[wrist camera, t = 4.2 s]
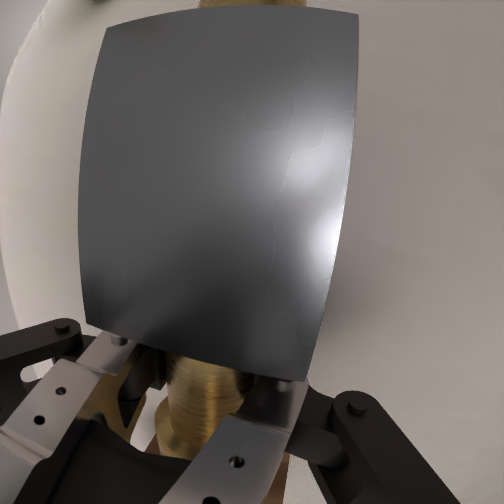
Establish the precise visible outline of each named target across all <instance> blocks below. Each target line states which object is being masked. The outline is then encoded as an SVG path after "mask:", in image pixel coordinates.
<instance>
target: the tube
mask: <svg viewBox="0 0 504 504" xmlns="http://www.w3.org/2000/svg"><path fill="white" fill-rule="evenodd" d="M232 5H286V6H300V7H306V0H200V2H199V6H198V8H206V7H217V6H232ZM165 361H166V377H167V391H168V396H167V397H166V398H165V399H164V400H163V401H162V402H161V403H160V404H159V406H158V408H157V410H156V413H155V428H156V433H157V438H158V444H159V449H160V453H161V455H163V456H170V457H177V458H184V459H187V460H191V461H193V460H194V458H195V457H196V456H197V454H198V453H199V452H200V450H201V449H202V448H203V446H204V445H205V444H206V442H207V441H208V440H209V438H210V437H211V435H212V434H213V433H214V431H215V430H216V428H217V427H218V426H219V424H220V423H221V421H222V420H223V419H224V417H225V416H226V415H227V414H228V413H232V414H236V413H237V411H238V410H239V408H240V406H241V405H242V403H243V402H244V400H245V399H246V397H247V396H248V394H249V392H250V391H251V389H252V388H253V384H254V378H255V374H254V373H249V372H244V371H239V370H235V369H230V368H226V367H222V366H218V365H214V364H210V363H206V362H202V361H198V360H194V359H190V358H187V357H183V356H180V355H176V354H173V353H169V352H166V351H165Z"/></svg>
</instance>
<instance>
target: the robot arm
mask: <svg viewBox="0 0 504 504" xmlns="http://www.w3.org/2000/svg"><path fill="white" fill-rule="evenodd" d="M50 358H52V361H53V364H54V366H53V367H52V368H51V369H50V370H49V371H48V372H47V373H46V374H45V376H44V377H43V378H40V379H37V380H35V381H32V382H28V383H27V382H24V381H22V380H21V377H20V373H21V371H22V369H23V368H25V367H27V366H30V365H33V364H35V363H38V362H41V361H44V360H47V359H50ZM166 382H167V377H166V361H165V351H163V350H160V349H156V348H153V347H150V346H147V345H144V344H141V343H138V342H135V341H132V340H129V339H126V338H124V337H121V336H118V335H115V334H112V333H110V332H107V331H105V330H103V331H102V332H101V333H100V334H99V335H98V336H97V337H95V336H89V335H82V333H81V327H80V324H79V323H78V322H77V321H76V320H73V319H69V318H60V319H56V320H52V321H49V322H45V323H42V324H39V325H35V326H32V327H28V328H25V329H22V330H18V331H15V332H12V333H8V334H5V335H1V336H0V504H263V502H264V499H265V497H266V495H267V493H268V491H269V489H270V486H271V484H272V482H273V480H274V477H275V475H276V473H277V471H278V468H279V466H280V464H281V461H282V459H283V456H284V454H285V452H287V453H290V454H292V455H295V456H297V457H300V458H302V459H305V460H307V461H308V465H309V467H310V469H311V471H312V473H313V476H314V478H315V480H316V482H317V484H318V486H319V488H320V490H321V492H322V494H323V496H324V498H325V500H326V502H327V504H460V502H459V501H458V500H457V499H456V497H455V496H454V495H453V494H452V492H451V491H450V490H449V489H448V487H447V486H446V485H445V484H444V483H443V481H442V480H441V479H440V478H439V476H438V475H437V474H436V473H435V471H434V470H433V469H432V468H431V466H430V465H429V464H428V463H427V461H426V460H425V459H424V458H423V457H422V455H421V454H420V453H419V452H418V450H417V449H416V448H415V447H414V445H413V444H412V443H411V442H410V441H409V439H408V438H407V437H406V436H405V434H404V433H403V432H402V431H401V429H400V428H399V427H398V426H397V425H396V423H395V422H394V421H393V420H392V418H391V417H390V416H389V415H388V413H387V412H386V411H385V410H384V409H383V407H382V406H381V405H380V404H379V402H378V401H377V400H376V399H375V398H374V397H372V396H371V395H369V394H367V393H364V392H360V391H345V392H342V393H340V394H339V395H337V396H336V397H335V399H334V398H331V397H328V396H325V395H323V394H320V393H319V392H317V391H315V390H314V389H313V388H312V387H311V386H310V385H309V381H308V379H307V377H306V379H305V382H299V381H293V380H286V379H281V378H275V377H269V376H264V375H259V374H255V378H254V384H253V388H252V389H251V391H250V392H249V394H248V396H247V397H246V399H245V400H244V402H243V403H242V405H241V406H240V408H239V410H238V411H237V413H236V414H232V413H228V414H227V415H226V416H225V417H224V419H223V420H222V421H221V423H220V424H219V426H218V427H217V428H216V430H215V431H214V433H213V434H212V435H211V437H210V438H209V440H208V441H207V442H206V444H205V445H204V446H203V448H202V449H201V450H200V452H199V453H198V454H197V456H196V457H195V458H194V460H193V461H191V460H187V459H184V458H177V457H170V456H163V455H157V454H151V453H146V452H142V451H139V450H138V449H136V448H135V447H133V446H132V445H131V444H130V439H131V435H132V432H133V430H134V428H135V425H136V423H137V421H138V418H139V416H140V413H141V411H142V409H143V407H144V404H145V402H146V398H147V397H146V391H147V389H148V388H149V387H151V388H154V389H157V390H161V389H162V387H163V386H164V385H165V383H166Z"/></svg>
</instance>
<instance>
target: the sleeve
mask: <svg viewBox="0 0 504 504" xmlns="http://www.w3.org/2000/svg"><path fill="white" fill-rule="evenodd" d="M358 46H359V20H358V15H357V14H352V13H347V12H341V11H335V10H328V9H320V8H311V7H300V6H286V5H232V6H217V7H206V8H197V9H190V10H183V11H176V12H170V13H165V14H160V15H155V16H150V17H146V18H141V19H137V20H133V21H130V22H126V23H122V24H119V25H115V26H112V27H109V28H107V29H106V32H105V36H104V39H103V42H102V46H101V49H100V53H99V56H98V60H97V64H96V68H95V72H94V77H93V81H92V86H91V91H90V96H89V101H88V107H87V113H86V119H85V126H84V133H83V141H82V150H81V161H80V175H79V195H78V239H79V260H80V274H81V285H82V294H83V302H84V310H85V317H86V323H87V324H89V325H92V326H94V327H97V328H99V329H102V330H105V331H107V332H110V333H112V334H115V335H118V336H121V337H124V338H126V339H129V340H132V341H135V342H138V343H141V344H144V345H147V346H150V347H153V348H156V349H160V350H163V351H166V352H169V353H173V354H176V355H180V356H183V357H187V358H190V359H194V360H198V361H202V362H206V363H210V364H214V365H218V366H222V367H226V368H230V369H235V370H239V371H244V372H249V373H254V374H259V375H264V376H269V377H275V378H281V379H286V380H293V381H299V382H305V379H306V376H307V373H308V369H309V366H310V362H311V358H312V355H313V351H314V348H315V344H316V340H317V336H318V332H319V328H320V324H321V320H322V316H323V312H324V308H325V304H326V299H327V295H328V290H329V286H330V281H331V276H332V272H333V267H334V262H335V257H336V251H337V246H338V241H339V235H340V230H341V224H342V218H343V212H344V205H345V199H346V192H347V185H348V177H349V170H350V162H351V153H352V144H353V134H354V123H355V111H356V97H357V79H358Z"/></svg>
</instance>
